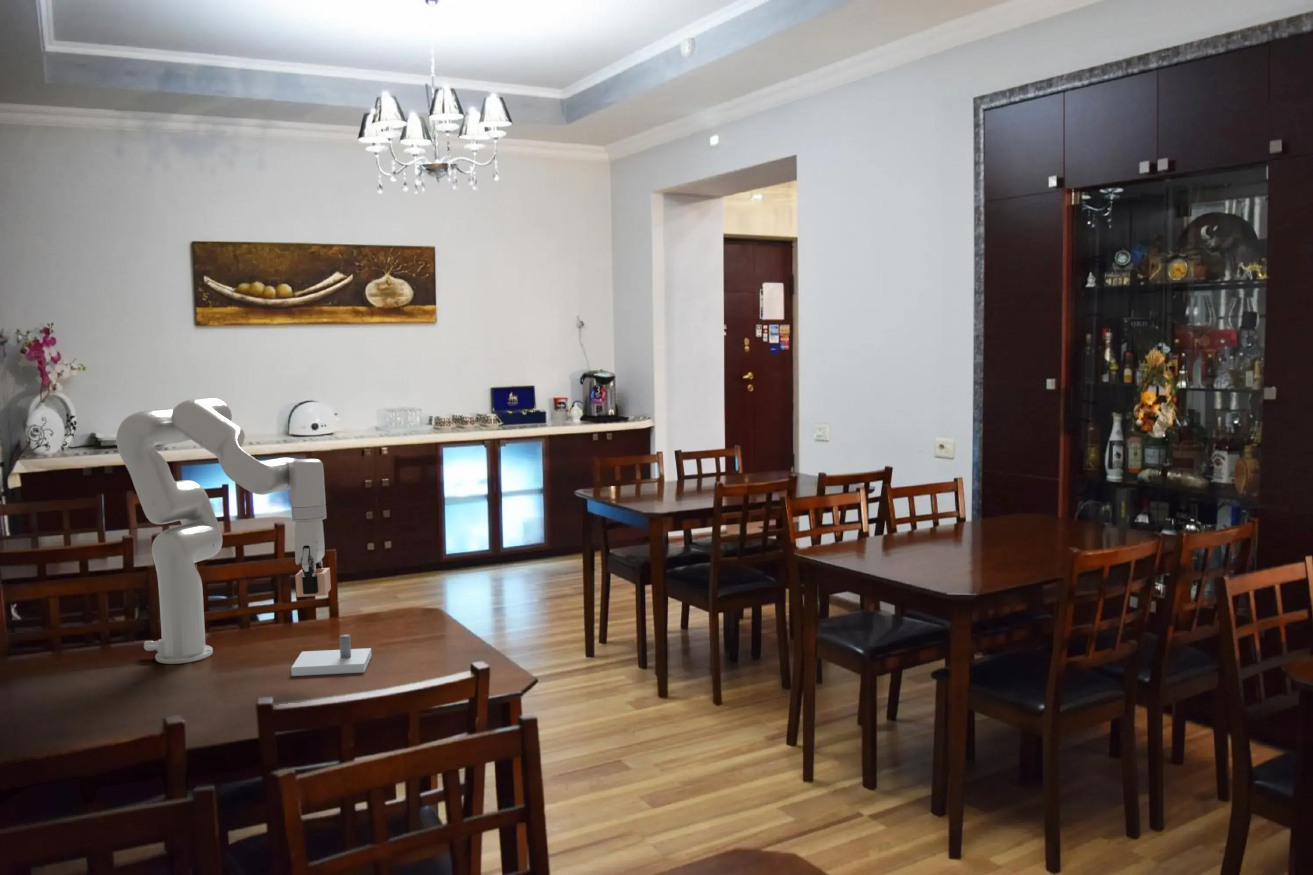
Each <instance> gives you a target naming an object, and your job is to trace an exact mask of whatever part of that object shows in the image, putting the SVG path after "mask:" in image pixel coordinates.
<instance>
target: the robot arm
mask: <svg viewBox="0 0 1313 875" xmlns="http://www.w3.org/2000/svg"><path fill="white" fill-rule="evenodd" d="M232 417H233V414H232V410H231V409H230V407H229V405H228V404H227V403H226V402H224V400H223V401H222V399H219V398H215V397H206V398H193V399H188V400H184V401H182V402H180V403H178V404H177V405H176V406H175V407H173V408H170V407H169V408H161V409H150V410H149V409H148V410H142V411H138V412H135V413H132V414H131V415H128V416H127V417H125V418H124V419H123V420H122V421H121V423H120V424H119V425H118V426H119V427H118V429H117V432H116V446H117V451H118V453H119V456H120V458H121V460H122V462H123V463H124V465H125V467H126V469H127V471H128V473H129V475H130V478H131V480H132V483H133V484H132V485H133V486H134V489H135V492H136V494H137V497H138V500H139V503H140V505H141V507H142V508H141V509H142V511H143V513H144V515H145V517H146V519H148V521H149V522H150V523H152V524H154V525H165V524H170V523H175V522H180V524H181V525H178V526H174V527H169V528H167V529H166V530H163V531H161V532H160V533H158V535H156V537H155V538H154V540H153V542H152V544H151V554H152V558H153V559H152V560H153V563H154V566H155V571H156V576H157V584H158V597H159V611H160V612H159V613H160V617H159V618H160V628H161V629H160V630H161V633H160V634H161V639H158V640H155V641H154V640H145V641H144V643H143V648H144V650H145V651H146V652H153V651H156V652H157V653H156V654H155V661H156V662H158V663H160V664H166V665H167V664H168V665H179V664H186V663H187V664H188V663H194V662H198V661H202V660H204V659H206V658H208V657H210V656H211V655H212V654H213V653H214V650H213V647H212V646H210V645H208V644H206V628H205V613H204V612H205V611H204V609H205V608H204V607H205V606H204V595H203V593H204V591H203V582H202V577H201V575H200V573H199V571H198V569H197V567H196V565H195V564H196V563H198V562H201V561H205V560H208V559H210V558H213V557H215V556H216V555H217V554H218V553H219V552H220V551H221V549H222V546H223V534H222V530H221V527H220V524H219V521H218V519H217V516H216V514H215V511H214V508H213V506H212V503H211V501H210V499H209V495H208V494H207V492H206V490H205V489H204V488H203V487H202V485H201V484H199V483H198V482H196V481H193V480H190V479H185V480H182V479H181V480H175V479H174V476H173V474H172V472H171V469H170V466H169V464H168V462H167V460H166V459H165V458H164V457H163V456H162V454H160V453H159V452H158V451H157V450H156V449H155V447H156V446H161V445H163V446H164V445H168V444H177V443H183V442H187V441H191V440H192V442H194V443H196V444H198V446H201V447H202V448H203V449H205V450H206V451H207V452H209V453H211V454H212V455H213V456H215V457H216V458H217V460H218V463H219V465H220V467H221V469H222V471H223V472H224V473H225V475H226V476H227V477H228V478H229V479H230V480H231V481H232V482H234V483H235V484H236V485H238V486H240V487H241V488H243V489H244V490H247V491H248V492H250V493H252V494H255V495H262V496H263V495H265V496H266V495H269V494H272V493H277V492H282V491H286V490H289V491H290V504H291V506H290V508H291V510H290V511H291V520H292V522H295V525H294V555H295V558H294V559H295V560H294V561H295V564H296V565H297V566H299V565H301V566H302V567H301V569H302V583H303V594H316V593H318V581H317V576H316V569H317V568H324V565H323V558H324V557H325V554H326V553H325V551H326V550H325V548H326V547H325V533H324V532H325V531H324V522H323V521H324V520H326V519H327V517H328V516H327V505H326V503H327V502H326V489H325V488H326V487H325V472H324V471H325V470H324V463H323V462H322V460H320V459H318V458H300V459H298V458H292V457H285V456H284V457H278V458H273V459H267V460H262V461H261V460H258V458H257V459H256V458H255V457H254V456H252V455H250V454H249V453H247V452H246V451H245V450H244V449H242V447H243V444H244V442H245V436H246V435H245V431H244V430H243V429H242V427H241V426H239V425H237V424H236V423H234V422H232V420H233V418H232Z"/></svg>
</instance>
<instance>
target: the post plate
mask: <svg viewBox="0 0 1313 875" xmlns="http://www.w3.org/2000/svg"><path fill="white" fill-rule="evenodd" d="M351 646H352V645H351V634H349V633H348V634H341V635H339V649H330V650H329V649H326V650H325V649H324V650H307V651H306V650H305V651H301V652H300V654H299V655H298V657H297V658H296V659H295V662H293V664H292V666H291V667H290V670H291V671H290V672H291V677H297V676H298V677H299V676H314V675H315V676H316V675H317V676H318V675H336V674H338V675H339V674H353V673H355V674H356V673H357V674H358V673H365V672H366V670H367V667H368V665H369V662H370V661H371V658H372V648H371V647H369V648H352V647H351Z"/></svg>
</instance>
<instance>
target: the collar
mask: <svg viewBox="0 0 1313 875" xmlns="http://www.w3.org/2000/svg"><path fill="white" fill-rule="evenodd" d="M330 569H331V567H323V568H317V569H316V576H317V581H318V593H316V594H303V583H302V568H301V570H299V571H298V572H297V573H296V574H295V575H294V576H295V592H296V597H297V598H303V597H318V596H319V597H321V596H327V594H328V593H329V592H330V591H331V589H332V585H331V570H330Z"/></svg>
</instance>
